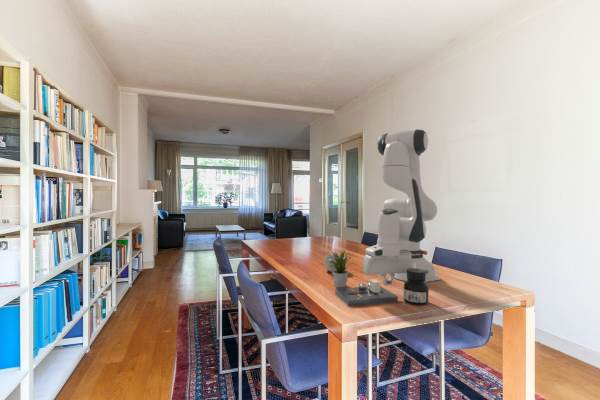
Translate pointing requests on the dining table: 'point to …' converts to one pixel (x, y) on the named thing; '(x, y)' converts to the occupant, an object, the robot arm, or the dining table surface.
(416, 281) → the ink bottle
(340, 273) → the house plant
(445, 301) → the dining table surface
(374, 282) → the fader cap
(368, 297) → the console
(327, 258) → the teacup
